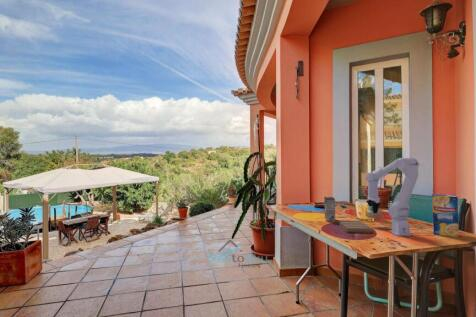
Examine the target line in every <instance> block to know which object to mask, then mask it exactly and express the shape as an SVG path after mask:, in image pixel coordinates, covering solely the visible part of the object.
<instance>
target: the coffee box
mask: <svg viewBox="0 0 476 317" xmlns="http://www.w3.org/2000/svg"><path fill="white" fill-rule="evenodd" d="M323 200H324V220H325V221H326V222H336V199H335V197H334V196H324V199H323Z"/></svg>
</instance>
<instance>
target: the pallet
mask: <svg viewBox="0 0 476 317" xmlns="http://www.w3.org/2000/svg"><path fill="white" fill-rule="evenodd" d="M382 212H383V211H381V210H380V209H379V211H378V212H377V213H373V211H369V210H368V209H365V217H367V218H368V219H371V218H372V219H373V218H374V219H382V218H383V214H382Z"/></svg>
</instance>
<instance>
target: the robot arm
mask: <svg viewBox="0 0 476 317" xmlns="http://www.w3.org/2000/svg"><path fill="white" fill-rule="evenodd" d="M419 166H420V163H419V161H418V159H416V158H415V157H400V158H399V157H398V158H397V159H394V161H392V162H391V163H389V164H388V165H386V166H384V167H383V166H379V167H377V169H375V170H372V171H371V172H367V173H366V174H365V180H366V181H367V200H366V203H367V207H368V206H372V209H373V213H377V212H378V208H380V206H381V202H380V200H381V198H380V197H379V181H380V180H381V179H382V178H384V177H386V176H387V175H388V173H389V172H391V171H394V170H396V169H398V170H399V171H400V172H401V173H402V174H403V175H404V180H403V182H402V184H401V188H400V190H399V193H398V196H397V199H396V200H395V201H394V202H393V203H392V204H391V206H390V207H389V208H388V212H387V213H388V214H389V216H390V219H391V229H390V230H389V232H390V233H392V234H393V235H395V236H397V237H398V236H399V237H400V236H401V237H405V236H406V237H407V236H408V237H412V234H411V231H410V230H411V229H410V227H411V226H410V223H409V221H408V220H407V218H408V216H409V215H410V212H411V211H410V208H411V206H410V205H409V201H410V199H411V197H412V194H413V191H414V188H415V186H416V183H417V180H418V178H419Z"/></svg>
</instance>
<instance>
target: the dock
mask: <svg viewBox="0 0 476 317" xmlns="http://www.w3.org/2000/svg"><path fill="white" fill-rule="evenodd" d="M338 226H339V227H341V228H342V229H343V230H344V231H345V232H346V233H355V234H356V233H357V234H358V233H362V234H364V233H365V234H366V233H367V234H371V233H372V232H373V228H372V227H370V225H368V224H366V223H365V222H363V221H362V220H351V219H350V220H341V219H340V220H338Z"/></svg>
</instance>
